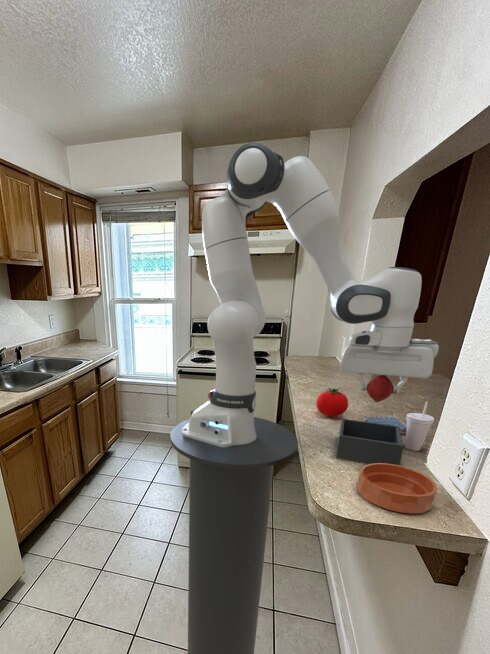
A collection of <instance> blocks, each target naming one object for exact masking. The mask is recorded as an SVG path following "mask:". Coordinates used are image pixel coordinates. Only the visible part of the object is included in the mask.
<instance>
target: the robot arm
mask: <svg viewBox="0 0 490 654" xmlns="http://www.w3.org/2000/svg"><path fill="white" fill-rule="evenodd" d="M226 181H227V182H226V183H227V184H226V189H225V191H224V192H223V193H222V194H221V195H220V196H217V197H214V198H213V199H210V201H208V202H207V203H206V204H205V206H204V207H203V210H202V213H201V234H202V243H203V249H204V254H205V255H204V256H205V261H206V264H207V265H206V267H207V271H208V277H209V281H210V284H211V286H212V287H213V289H214V291H215V293H216V295H217V297H218V300H219V303H220V305H218V306H217V307H216V308H215V309H214V310H213V311H212V312H211V313H210V315H209V317H208V320H207V331H208V334H209V336H210V338H211V339H212V344H213V350H214V356H215V357H214V358H215V366H216V367H215V370H216V371H215V386H213V387H212V388H211V390H210V391H209V393H207V398H208V399H209V400H208V401H206V402H205V403H203V404H202V405H200V406H199V407H198V408H196V409H194V410H191V411H190V417H189V419H190V422H189V423H188V424H186V425H185V426H184V427H183V429H182V436H185V437H188V438H192V439H195V440H199V441H202V442H206V443H209V444H212V445H216V446H219V447H229V446H233V445H243V444H248V443H251V442H253V441H255V440H256V438H257V436H256V431H255V426H254V417H255V409H256V404H257V403H256V402H257V396H256V395H257V393H256V390H255V389H256V376H257V362H256V358H255V351H254V350H255V349H254V337H256V336H258V335H259V334H260V333H261V332H262V330H263V329H264V326H265V324H266V319H267V314H266V311H265V308H264V306H263V302H262V299H261V295H260V291H259V288H258V285H257V282H256V279H255V274H254V270H253V265H252V259H251V253H250V247H249V240H248V234H247V227H246V219H248V218H249V217H251V216H252V215H254V214H255V213H257V212H259V211H260V210H261V209H263V207H264V206H265V205H266V204H267V203H270V204H272V205H274V207H276V209H277V210H278V211H279V212H280V214H281V217H282V218H283V221H284V222H285V224H286V226H287V228H288V230H289V232H290V233H291V235H292V236H293V238H294V239H295V240H296V241H297V243H298V244H299V245H300V246H301V248H303V250H304V251H305V252H306V253H307V254H308V255H309V256H310V257H311V259H312V260H313V261H314V263H315V265H316V266H317V268H318V270H319V272H320V274H321V276H322V278H323V280H324V282H325V283H326V284H325V285H326V286H327V289H328V291H329V308H330V312H331V314H332V315H333V316H334V318H335V319H337V320H338V321H340V322H344V323H346V324H349V325H358V324H363V323H369V322H371V327H370V329H367V330H363V331H359V332H354V333H352V334H351V335H350V336H349V344H347V345H346V347H345V348H344V350H343V353H342V356H341V360H340V363H339V371H341V372H342V373H352V374H357V378H358V381H359V383H360V391H367V386H368V383H369V382H365V381H364V379H363V378H365V375H377V376H379V375H386V376H387V377H388V376H389V377H399V379H400V381H399V382H398V383H397V384H396V385H395V384H393V391H392V394H397V395H399V394H400V390H401V388H402V387H403V386H404V385H405V384H406V383H407V382H408V378H413V379H425V380H426V379H429V378H430V377H431V376H432V375H433V370H434V363H435V362H434V361H435V358H436V357H437V355H438V354H439V349H440V345H439V343H438V342H436V341H434V340H433V339H430V338H429V339H423V338H412V337H413V336H412V335H413V331H414V327H415V322H414V318H415V315H416V311H417V310H418V308H419V303H420V298H421V293H422V292H421V291H422V281H423V280H422V278H423V277H422V274H421V273H420V272H419V271H418V270H416V269H413V268H408V267H401V266H389V267H387V268H385V269H384V270H382V271H380V272H379V273H377V274H375V275H373V276H370V277H369V278H366V279H364V280H360V281H358V280H357V279H356V278H355V277H354V275H353V273H352V271H351V268H350V266H349V265H348V263H347V261H346V258H345V256H344V254H343V252H342V248H341V245H340V226H341V225H340V224H341V218H340V214H339V210H338V205H337V203H336V201H335V198H334V195H333V193H332V191H331V188H330V187H329V185H328V183H327V181H326V180H325V178H324V177H323V175H322V174H321V172H320V171H319V169H318V168H317V167H316V165H315V164H314V163H313V162H312V161H311V159H309V158H308V157H307V156H304V155H297V156H294V157H291V158H290V159H288V160H286V161H285V160H284V157H283V155H280V154H279V153H276V152H274V151H273V150H271V148H269V147H267V146H266V145H264V144H262V143H260V142H248V143H245V144H243V145H241V146H240V147H239V148H238V149H237V150H236V151H235V152H234V153H233V154H232V157H231V158H230V160H229V162H228V166H227V170H226Z"/></svg>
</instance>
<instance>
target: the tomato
mask: <svg viewBox="0 0 490 654" xmlns="http://www.w3.org/2000/svg"><path fill="white" fill-rule="evenodd" d="M327 389H328V390H326V389H324V391H323V392H320V394H319V395H318V396H317V398H316V400H315V402H316V403H315V407H316V409H317V410H318V412H319V413H320V414H321V415H323V416H325V417H330V418H335V417H339V416H342V415H343V414H344V413H345V412H346V411H347V410H348V407H349V399H348V397H347V396H346V395H345V394H344V393H343V392H341V391H339V390H340V388H329V387H327Z"/></svg>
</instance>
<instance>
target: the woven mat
mask: <svg viewBox="0 0 490 654" xmlns="http://www.w3.org/2000/svg"><path fill="white" fill-rule="evenodd" d="M363 421H364V422H371V423H378V424H386V425H393V426H399V429H400V432H401V435H406V429H407V424H404V423H403V422H401V421H400V420H399V419H397V418H393V417H390V418H388V417H386V416H385V418H384V417H382V416H380V417H377V416H376V417H373V416H370V417H367V416H365V419H364V420H363Z"/></svg>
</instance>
